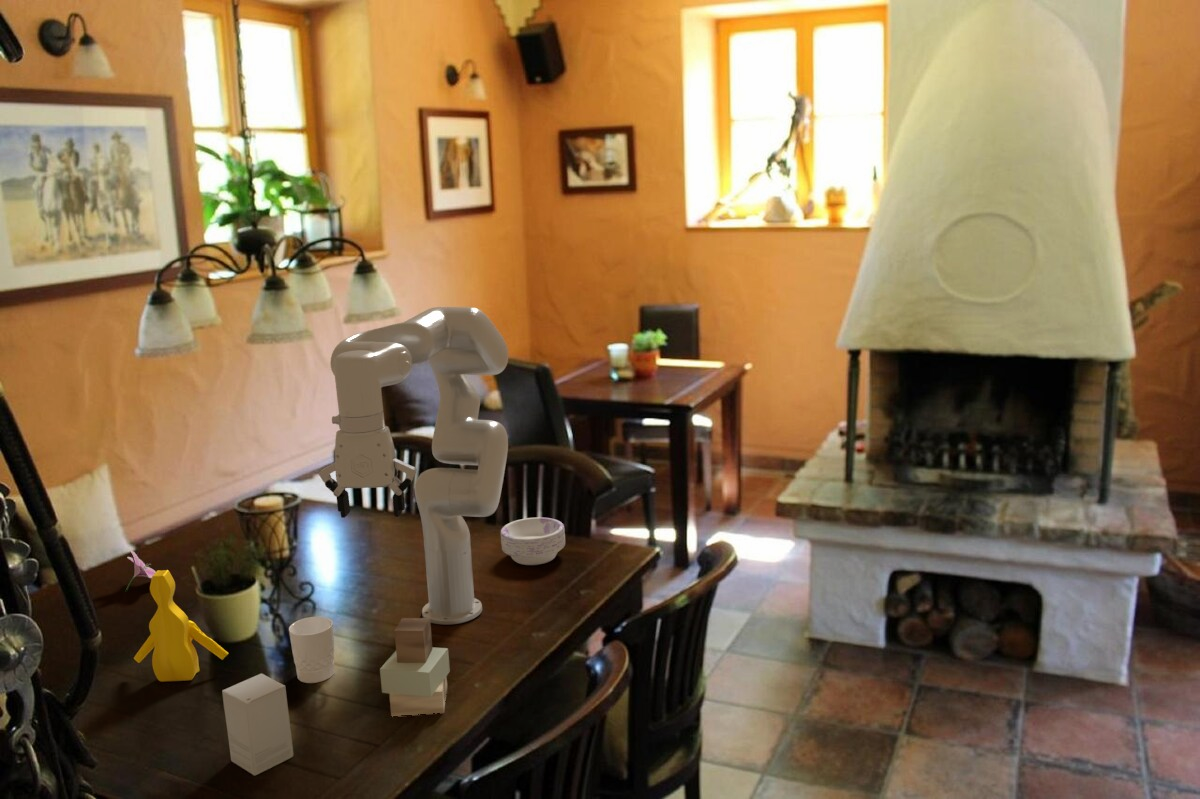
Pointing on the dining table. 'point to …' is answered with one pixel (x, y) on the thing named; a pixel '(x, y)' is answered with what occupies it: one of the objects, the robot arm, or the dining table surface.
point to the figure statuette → (173, 635)
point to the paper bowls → (533, 540)
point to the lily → (140, 568)
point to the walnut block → (413, 640)
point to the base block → (419, 702)
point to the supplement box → (258, 723)
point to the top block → (415, 674)
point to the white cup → (313, 648)
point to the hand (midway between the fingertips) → (372, 514)
